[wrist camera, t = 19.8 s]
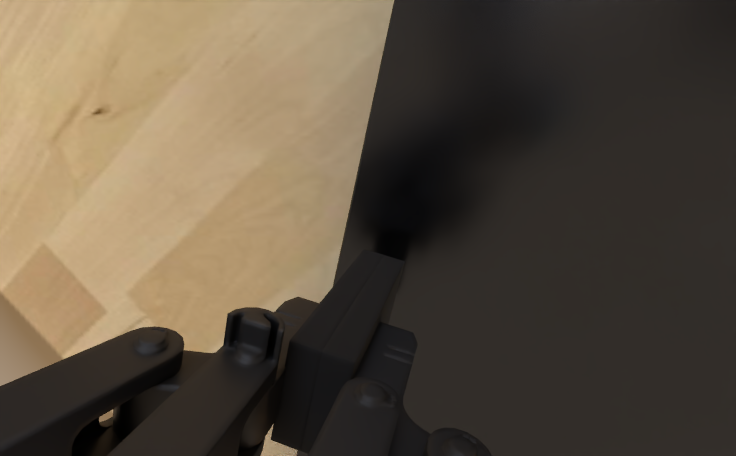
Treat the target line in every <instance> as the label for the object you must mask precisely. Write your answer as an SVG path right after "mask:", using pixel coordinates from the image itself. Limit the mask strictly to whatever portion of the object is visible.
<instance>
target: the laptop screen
mask: <svg viewBox="0 0 736 456" xmlns="http://www.w3.org/2000/svg"><path fill="white" fill-rule="evenodd" d="M363 249H365V250H368V251H372V252H375V253H379V254H382V255H385V256H389V257H392V258H395V259H399V260H402V261H405V263H404V267H403V271H402V274H401V278H400V282H399V286H398V290H397V293H396V297H395V301H394V305H393V309H392V312H391V316H390V320H389V324H388V325H392V326H395V327H398V328H401V329H404V330H407V331H410V332H413V333H414V336H415V338H416V340H417V343H418V345H417V349H416V353H415V356H414V360H413V364H412V367H411V371H410V375H409V378H408V382H407V386H406V389H405V393H404V397H403V405H404V409H405V411H406V413H407V414H408V416H409V417H410V418H411V419H412V420H413V422H414V423H416V424H417V425H418V426H419V427H421V428H422V429H424V430H425V431H427V432H428V433H430V434H431V433H432V432H433V431H435V430H438V429H440V428H456V429H459V430H462V431H465V432H468V433H469V434H471V435H473V436H474V437H476V438H478V439H479V440H480V441H481V442H482V443H483V444H484V445H485V446H486V447H487V448H488V450H489V452H490V453H491V455H492V456H736V0H394V5H393V9H392V14H391V19H390V23H389V28H388V33H387V37H386V42H385V46H384V51H383V56H382V60H381V65H380V70H379V74H378V79H377V84H376V88H375V93H374V98H373V102H372V107H371V112H370V116H369V121H368V126H367V130H366V135H365V140H364V144H363V149H362V154H361V158H360V163H359V168H358V172H357V177H356V182H355V186H354V191H353V196H352V200H351V205H350V210H349V214H348V219H347V223H346V228H345V233H344V237H343V242H342V247H341V251H340V256H339V261H338V265H337V270H336V275H335V279H334V284H333V286H334V285H335V284H336V283H337V282H338V280H339V279H340V278H341V277H342V275H343V274H344V273H345V272H346V270H347V269H348V268H349V267H350V266H351V264H352V263H353V262H354V261H355V259H356V258H357V257H358V256H359V254H360V253H361V252H362V251H363ZM297 456H308V454H307V453H304V452H302V451H299V450H298V452H297Z"/></svg>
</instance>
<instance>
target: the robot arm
mask: <svg viewBox="0 0 736 456" xmlns="http://www.w3.org/2000/svg"><path fill="white" fill-rule="evenodd" d="M404 263H405V261H402V260H399V259H395V258H392V257H389V256H385V255H382V254H379V253H375V252H372V251H368V250H365V249H363V251H362V252H361V253H360V254H359V256H358V257H357V258H356V259H355V261H354V262H353V263H352V264H351V266H350V267H349V268H348V269H347V270H346V272H345V273H344V274H343V275H342V277H341V278H340V279H339V280H338V282H337V283H336V284H335V285H334V286H333V288H332V289H331V290H330V291H329V293H328V294H327V295H326V296H325V298H324V299H323V300H322V301H321V302H320V304H319V303H316V302H313V301H310V300H307V299H304V298H301V297H296V298H294V299H291V300H288V301H285V302H284V303H283V304H282V305H281V306H280V307H279V308H278V309H277V310H276V312H271V311H269V310H266V309H261V308H247V307H246V308H241V309H236V310H234V311H232V312H230V313H228V316H227V323H226V330H225V338H224V345H223V346H222V347H221V348H220V349H219V350H218V351H217V352H216V353H202V352H194V351H185V350H184V341H183V337H182V336H180V335H179V334H178V333H177V332H176V331H173V330H170V329H168V328H162V327H144V328H139V329H136V330H133V331H130V332H127V333H125V334H123V335H120V336H118V337H116V338H113V339H111V340H108V341H106V342H104V343H101V344H99V345H97V346H94V347H92V348H90V349H87V350H85V351H83V352H80V353H78V354H75V355H73V356H71V357H68V358H66V359H64V360H61V361H59V362H57V363H54V364H52V365H49V366H47V367H45V368H42V369H40V370H38V371H35V372H33V373H31V374H28V375H26V376H24V377H21V378H19V379H16V380H14V381H12V382H10V383H7V384H5V385H2V386H0V456H260V455H261V452H262V450H263V445H264V440H265V436H266V434H267V433H268V431H269V430H270V428H271V426H272V425H273V423H274V425H273V430H272V436H271V440H273V441H275V442H278V443H281V444H283V445H286V446H289V447H291V448H294V449H296V450H299V451H302V452H304V453H307V454H308V456H492V455H491V453H490V452H489V450H488V448H487V447H486V446H485V445H484V444H483V443H482V442H481V441H480V440H479V439H478V438H476V437H474V436H473V435H471V434H469V433H468V432H465V431H462V430H459V429H456V428H440V429H438V430H435V431H433V432H432V433H431V434H430V433H428V432H427V431H425V430H424V429H422V428H421V427H419V426H418V425H417V424H416V423H414V422H413V420H412V419H411V418H410V417H409V416H408V414H407V413H406V411H405V409H404V405H403V397H404V393H405V389H406V386H407V382H408V378H409V375H410V371H411V367H412V364H413V360H414V356H415V353H416V349H417V345H418V343H417V340H416V338H415V336H414V333H413V332H410V331H407V330H404V329H401V328H398V327H395V326H392V325H388V324H389V320H390V316H391V312H392V309H393V305H394V301H395V297H396V293H397V290H398V286H399V282H400V278H401V274H402V271H403V267H404ZM112 409H113V417H111V418H110V419H108V420H106V421H103V422H100V423H99V417H100V416H102V415H103V414H105V413H107V412H109V411H111V410H112Z"/></svg>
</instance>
